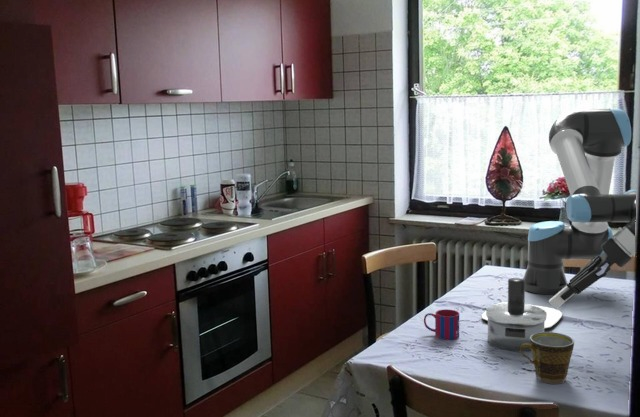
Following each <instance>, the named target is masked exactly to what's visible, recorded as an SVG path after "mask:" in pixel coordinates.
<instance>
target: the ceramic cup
mask: <svg viewBox="0 0 640 417" xmlns="http://www.w3.org/2000/svg"><path fill="white" fill-rule="evenodd" d="M530 343H531V345H530V344H527V343H526V344H523V345H522V346H521V348H520V351H519V352H520V354H521V355H522V356H523V357H524V358H526V359H527V360H528V361H529V362H530V363H531V364H533V367H534V371H535V378H536V379H537V380H538V381H539V382H541V383H543V384H544V383H545V384H548V385H559V384H560V383H561V384H563V383H564V382H565V381H566V379H567V376H568V371H569V367H570V364H571V363H570V362H571V358H572V355H573V350H574V346H575V340H574V338H573V337H571V336H570V335H566V334H563V333H561V332H552V331H551V332H550V331H544V332H540V333H535V334H533V335H531V336H530ZM524 347H530V348H531V350H532V351H531V354H532V360H531V358H530V357H529V356H527V355H526V354H525V353H523V352H522V349H523V348H524Z"/></svg>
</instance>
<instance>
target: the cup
mask: <svg viewBox="0 0 640 417" xmlns="http://www.w3.org/2000/svg"><path fill="white" fill-rule="evenodd" d="M428 316H432V317H433V318H434V320H435V323H434V324H435V325H434V327H435V328H431V327H430V326H428V324H427V321H426V319H427V317H428ZM423 324H424V326H425V328H426V329H427V330H429V331H431V332H433V333H435V334H434V335H435V337H436V338H437V339H440V340H445V341H451V340H452V341H453V340H457V339H458V338H460V312H459V311H457V310H454V309H438V310H436V312H435V313H432V312H431V313H430V312H428V313H426V314H425V315H424V317H423Z"/></svg>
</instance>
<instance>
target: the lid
mask: <svg viewBox="0 0 640 417" xmlns="http://www.w3.org/2000/svg"><path fill="white" fill-rule="evenodd" d="M525 297H526V290H525V280H524V279H523V278H519V277H513V278H508V280H507V302H508V303H502V302H501V303H502V304H498V303H495V304H496V305H495V304H492V305H490V306H488V307H486V309H485V311H486V316H487V318H489V319H490V320H492V321H494V322H497V323H501V324H506V325H513V326H531V325H537V324H541V323H543V322H545V321H546V318H547V313H546V312H545V311H544V310H543V309H541V308H539V307H536V306H537V305H536V306H532V305H533V304H530V305H527V304H528V303H526V302H525V301H526V300H525V299H526V298H525Z"/></svg>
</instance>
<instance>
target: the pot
mask: <svg viewBox="0 0 640 417" xmlns="http://www.w3.org/2000/svg"><path fill="white" fill-rule="evenodd" d="M544 323H545V322H543V323H541V324H537V325H531V326H513V325H506V324H501V323H497V322H494V321H492V320H490V319H489V318H488V321H487V342H488V343H489V344H490V345H491V346H493V347H494V348H496V349H497V348H498V349H501V350H504V351H510V352H520V348H521V346H522V345H523V344H526V343H527V344H530V345H531V343H530V336H531V335H533V334H535V333H540V332H545V329H544ZM523 352H532V350H531V348H530V347H524V348H523V349H522V353H523Z"/></svg>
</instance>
